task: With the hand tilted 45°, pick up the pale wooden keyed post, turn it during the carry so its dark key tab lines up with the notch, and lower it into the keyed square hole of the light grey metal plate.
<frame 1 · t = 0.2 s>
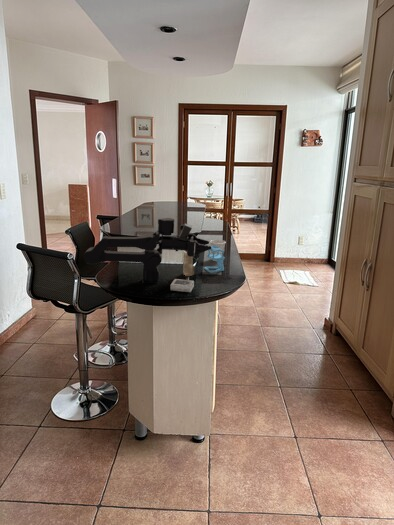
hand: (210, 244, 156), 16 cm above the table, tool horizontal, fingers open, 9 cm apart
dixie cup: (216, 260, 194), on the table
keyed post: (187, 274, 169), on the table
chair: (215, 270, 177), on the table
socket plate: (180, 288, 152), on the table
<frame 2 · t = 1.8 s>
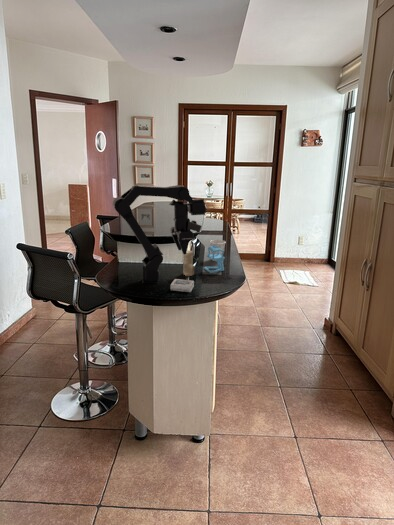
hand: (182, 252, 159), 13 cm above the table, tool pointing down, fingers open, 9 cm apart
nothing on the table moved.
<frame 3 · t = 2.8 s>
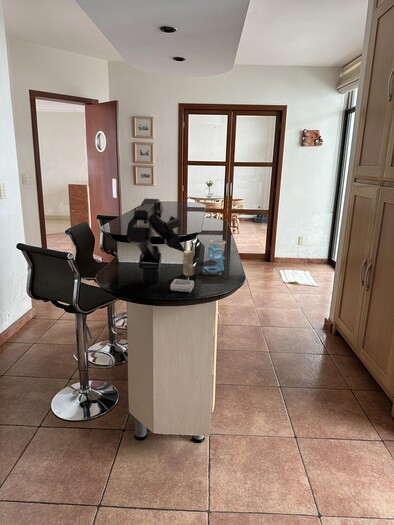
hand: (181, 248, 165), 13 cm above the table, tool tilted 45°, fingers open, 9 cm apart
nothing on the table moved.
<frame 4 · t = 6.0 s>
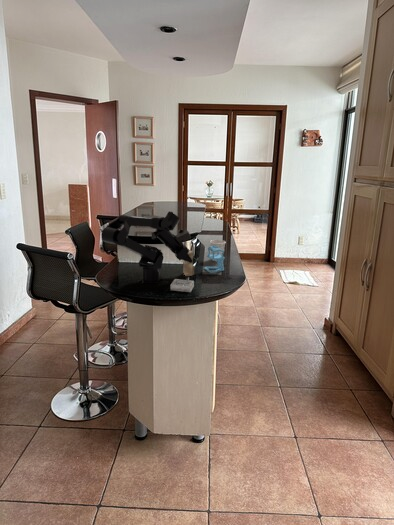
hand: (190, 260, 168), 7 cm above the table, tool tilted 45°, fingers closed on keyed post, 3 cm apart
keyed post: (187, 274, 169), on the table, touching gripper
everything else where it was.
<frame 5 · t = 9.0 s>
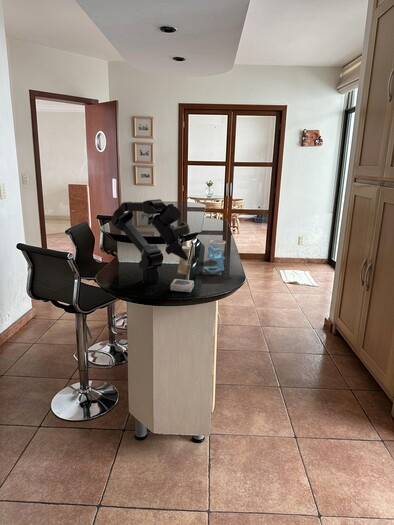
hand: (187, 258, 152), 12 cm above the table, tool tilted 40°, fingers closed on keyed post, 3 cm apart
keyed post: (182, 272, 154), point 6 cm above the table, tilted 7°, touching gripper
everything else where it was.
when the fingers open (7 cm above the table, at t = 12.5 s): keyed post stays where it is, resting in socket plate.
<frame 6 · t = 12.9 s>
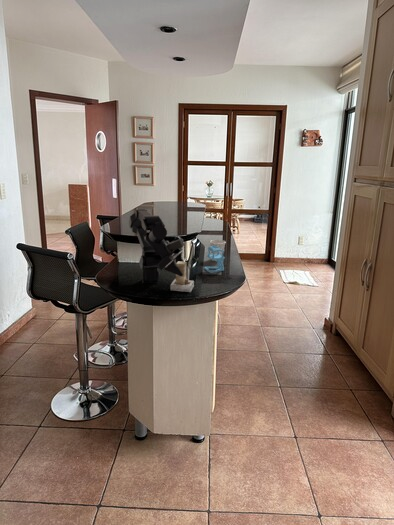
hand: (184, 272, 150), 7 cm above the table, tool tilted 45°, fingers open, 7 cm apart
keyed post: (180, 288, 152), resting in socket plate
everything else where it was.
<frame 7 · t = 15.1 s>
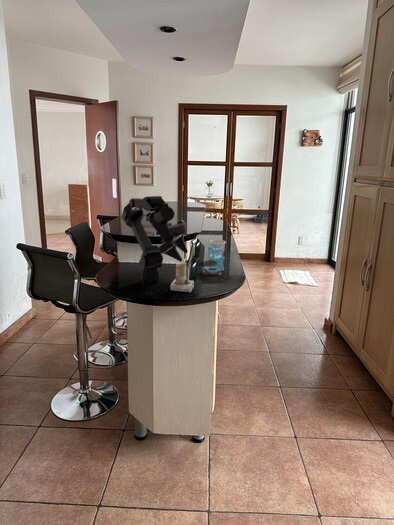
hand: (184, 256, 150), 13 cm above the table, tool tilted 40°, fingers open, 9 cm apart
nothing on the table moved.
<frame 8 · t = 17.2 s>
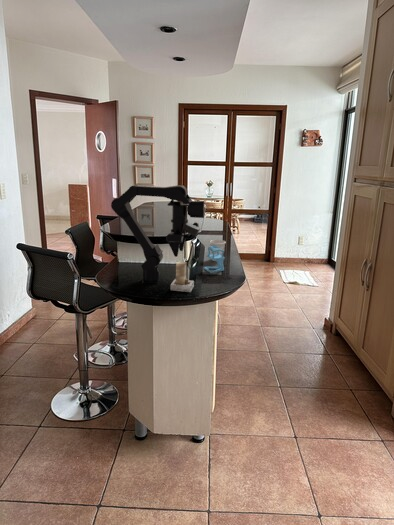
hand: (178, 253, 155), 13 cm above the table, tool pointing down, fingers open, 9 cm apart
nothing on the table moved.
at the end: keyed post 0.0 cm off-centre on the socket plate, point 0.0 cm above the socket plate's base; keyed post tilted 0°; the gripper is holding nothing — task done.
